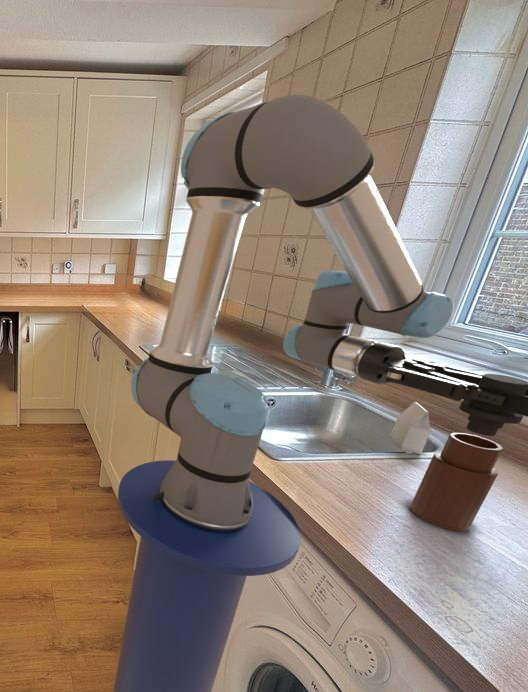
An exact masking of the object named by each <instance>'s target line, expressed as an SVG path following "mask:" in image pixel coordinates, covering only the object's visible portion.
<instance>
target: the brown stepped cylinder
mask: <svg viewBox="0 0 528 692" xmlns="http://www.w3.org/2000/svg"><path fill="white" fill-rule="evenodd" d="M503 450H504V448H503V447H502V445H501V444H499V443H497V442H495V441H493V440H491V439H488V438H485V437H482V436H479V435H475V434H470V433H465V432H451V433H450V434H448V437H447V440H446V442H445V443H444V446H443V448H442V450H438V451H435V452H434V453H433V455H432V458H431V460H430V461H429V464H428V466H427V469H426V471H425V473H424V475H423V477H422V479H421V481H420V484H419V486H418V488H417V490H416V492H415V494H414V496H413V499H412V501H411V503H410V510H411V511H412V513H413V514H415V515H416V516H417V517H418V518H420V519H422V520H423V521H425V522H427V523H429V524H432V525H434V526H437V527H438V528H442V529H445V530H450V531H455V532H466V531H468V530H469V528H470V527H472V524H473V522H474V520H475V518H476V517H477V515H478V513H479V511H480V509H481V507H482V506H483V503H484V501H485V499H486V498H487V496H488V494H489V492H490V490H491V488H492V486H493V485H494V483H495V481H496V479H497V477H498V475H499V470H498V469H497V468H496V467H495V465H496V463H497V462H498V460H499V457H500V455H501V454H502V451H503Z"/></svg>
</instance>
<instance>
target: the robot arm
mask: <svg viewBox="0 0 528 692" xmlns="http://www.w3.org/2000/svg"><path fill="white" fill-rule="evenodd" d="M375 163H376V160H375V157H374V154H373V152H372V150H371V148H370V146H369V144H368V142H367V141H366V139H365V138H364V136H363V134H362V133H361V131H360V130H359V129H358V127H357V126H356V125H355V124H354V123H353V122H352V121H351V120H350V119H349V118H348V117H346V115H345V114H344V113H343V112H341V111H339V110H338V109H337V108H335V107H334V106H332V105H331V104H329V103H328V102H325V101H324V100H322V99H319V98H317V97H314V96H311V95H306V94H286V95H283V96H280V97H275V98H273V99H271V100H269V101H265V102H263V103H260V104H256V105H253V106H250V107H247V108H243V109H241V110H238V111H230V112H227V113H224V114H222V115H219V116H218V117H216V118H214V119H212V120H210V121H208V122H206V123H205V124H203V125H202V126H201V127H200V128H199V129H197V130H196V131H195V132H194V134H193V135H192V136H191V138H190V139H189V140H188V142H187V144H186V146H185V148H184V150H183V153H182V158H181V162H180V175H181V178H182V179H183V180H184V181H183V184H184V186H185V187H186V189H187V193H186V194H187V195H186V198H185V202H186V203H187V205H188V207H189V208H190V209H191V217H190V219H189V220H190V221H189V225H188V228H187V233H186V237H185V242H184V245H183V248H182V249H183V250H182V254H181V257H180V262H179V265H178V270H177V273H176V278H175V282H174V286H173V290H172V294H171V298H170V302H169V307H168V310H167V314H166V319H165V323H164V327H163V331H162V334H161V339H160V343H159V344H158V345H156V346H155V347H153V348H151V349H150V350H149V353H148V354H149V355H148V357H147V358H145V359H143V360H142V362H141V364H140V365H137V366H136V368H135V370H134V372H133V374H132V377H131V381H130V382H131V384H130V390H131V395H132V397H133V400H134V402H135V404H137V406H138V407H140V409H142V410H143V411H144V413H145V414H147V415H148V416H149V417H151V418H154V419H155V420H156V421H157V422H159V423H160V424H162V425H163V426H165V427H166V428H168V429H169V430H170V431H171V432H173V433H174V434H176V435H177V436H178V437H179V438H180V442H179V446H178V452H177V456H176V460H175V463H174V464H173V466H172V467H171V469H170V470H169V472H168V473H167V475H166V477H165V478H164V480H163V482H162V484H161V488H160V493H159V494H158V495H156V496H154V497H152V498H153V500H154V501H157V500H159V499H160V500H161V503H162V504H163V506H164V507H165V508H166V509H167V510H168V512H170V513H171V514H172V515H173V516H175V517H176V518H177V519H179V520H181V521H182V522H184V523H186V524H188V525H191V526H193V527H196V528H199V529H202V530H205V531H210V532H216V533H232V532H237V531H240V530H242V529H244V528H246V527H247V526H248V524H249V522H250V519H251V516H252V492H250V484H249V481H250V475H251V472H252V469H253V465H254V462H255V458H256V456H257V455H256V454H257V452H258V449H259V445H260V441H261V439H262V435H263V433H264V429H265V427H266V422H267V413H268V400H267V397H266V396H265V394H264V393H263V392H262V391H261V390H260V389H259V388H258V387H256V386H255V385H253V384H252V383H249V382H248V381H246V380H243V379H241V378H238V377H231V375H228V374H222V373H213V372H212V370H213V367H214V362H213V360H212V359H211V357H210V356H209V353H208V352H209V349H210V346H211V342H212V338H213V334H214V332H215V328H216V324H217V320H218V317H219V314H220V311H221V307H222V304H223V300H224V296H225V294H226V293H225V292H226V289H227V286H228V282H229V279H230V276H231V272H232V268H233V265H234V261H235V258H236V254H237V251H238V247H239V243H240V241H241V237H242V233H243V230H244V226H245V223H246V220H247V217H248V216H249V215H250V214H252V213H253V212H254V211H256V210H257V209H259V207H260V206H261V203H262V201H263V197H264V193H265V191H266V190H267V189H277V190H279V191H283V192H284V193H286V194H288V195H289V196H290V197H291V199H292V200H293V202H294V204H295V205H296V206H297V207H299V208H300V209H305V210H306V209H307V210H309V212H310V214H311V215H312V217H313V219H314V220H315V221H316V224H317V225H318V227H319V229H320V230H321V232H322V234H323V235H324V237H325V239H326V240H327V241H328V244H329V246H330V247H331V248H332V250H333V252H334V253H335V255H336V257H337V258H338V260H339V262H340V264H341V266H342V267H343V269H344V270H333V269H332V270H329V269H328V270H327V269H326V270H323V271H321V272H320V273H318V275H317V278H316V281H315V283H314V286H313V289H312V290H311V295H310V298H309V302H308V305H307V310H306V313H305V317H304V321H303V322H302V324H297V325H294V326H292V328H290V329H289V330H288V332H287V335H286V336H284V339H283V345H282V346H283V347H282V348H283V351H284V353H285V354H286V355H287V356H288V357H290V358H292V359H296V360H298V361H301V362H302V363H306V364H310V365H314V366H318V367H321V368H324V369H329V370H332V371H335V372H338V373H342V374H343V375H342V376H344V377H345V378H346V377H347V378H348V377H349V376H352V377H355V378H360V379H361V380H364V381H368V382H371V383H375V384H377V385H387V384H389V383H392V384H397V385H401V386H405V387H407V388H411V389H415V390H417V391H422V392H425V393H429V394H432V395H436V396H439V397H443V398H446V399H449V400H452V401H456V402H461V403H462V401H463V403H462V404H464V405H471V403H472V401H473V399H475V401H474V402H477V403H481V404H485V405H488V406H492V407H495V408H499V409H502V410H506V411H509V412H513V413H516V414H520V415H523V417H528V389H527V391H526V393H525V395H522V394H518V393H514V392H510V391H506V390H503V389H499V388H494V387H491V386H487V385H482V386H481V388H480V389H478V388H479V386H478V385H479V383H480V381H481V378H482V376H483V375H484V374H485V373H482V372H478V371H473V370H470V369H465V368H460V367H457V366H451V365H448V364H444V363H440V362H437V361H436V360H429V361H426V360H424V359H420V358H412V359H411V360H410V359H407V358H406V352H405V350H404V348H403V347H402V346H400V345H397V344H391V343H387V342H382V341H376V340H375V339H371V338H367V337H361V336H356V335H350V334H347V333H346V332H347V330H348V328H349V324H352V325H356V326H361V327H366V328H370V329H375V330H380V331H384V332H388V333H393V334H396V335H400V336H403V337H405V336H408V337H412V338H413V337H414V338H420V339H429V338H432V337H434V336H436V335H439V333H440V332H442V330H443V329H445V327H447V325H448V324H449V323H450V322H451V321H450V320H451V319H452V317H453V314H454V309H455V304H454V301H453V299H452V298H451V297H450V296H448V295H446V294H443V293H438V292H436V291H432V292H431V291H430V292H429V291H426V289H425V287H424V285H423V283H422V281H421V278H420V276H419V274H418V273H417V269H416V268H415V266H414V264H413V261H412V260H411V258H410V255H409V253H408V251H407V250H406V247H405V245H404V243H403V241H402V239H401V237H400V234H399V232H398V231H397V228H396V226H395V224H394V222H393V220H392V217H391V215H390V214H389V211H388V209H387V207H386V205H385V203H384V201H383V198H382V197H381V195H380V193H379V190H378V188H377V186H376V184H375V182H374V180H373V177H372V175H371V173H372V172H373V170H374V167H375Z"/></svg>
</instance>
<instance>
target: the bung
mask: <svg viewBox="0 0 528 692" xmlns="http://www.w3.org/2000/svg"><path fill="white" fill-rule="evenodd" d="M483 374H484V375H483V376H482V378H481V381H480V383H479V385H478V386H479V388H478V389H480V388H481V386H482V385H487V386H491V387H494V388H499V389H503V390H506V391H510V392H514V393H518V394H522V395H525V393H526V391H527V389H528V381H527V380H526V379H525V380H524V379H521V378H518V377H514V376H510V375H505V374H498V373H483ZM474 401H475V399H473V401H472V403H471V405H464V404H462V403H463V400H461V403H460V405H459V407H458V408H459V410H460V411H462V412H463V413H465V414H467V415H468V417H467V420H468V423H467V425H466V430H468V431H469V432H472V433H475V434H478V435H482V436H488V437H493V436H496V434H497V433H498V431H499V429H502V428H504V425H505V424H511V425H514V424H515V425H516V424H520V423H521V422H522V420H523V418H524V416H523V415H520V414H516V413H513V412H509V411H506V410H502V409H499V408H495V407H492V406H488V405H485V404H481V403H477V402H474Z"/></svg>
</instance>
